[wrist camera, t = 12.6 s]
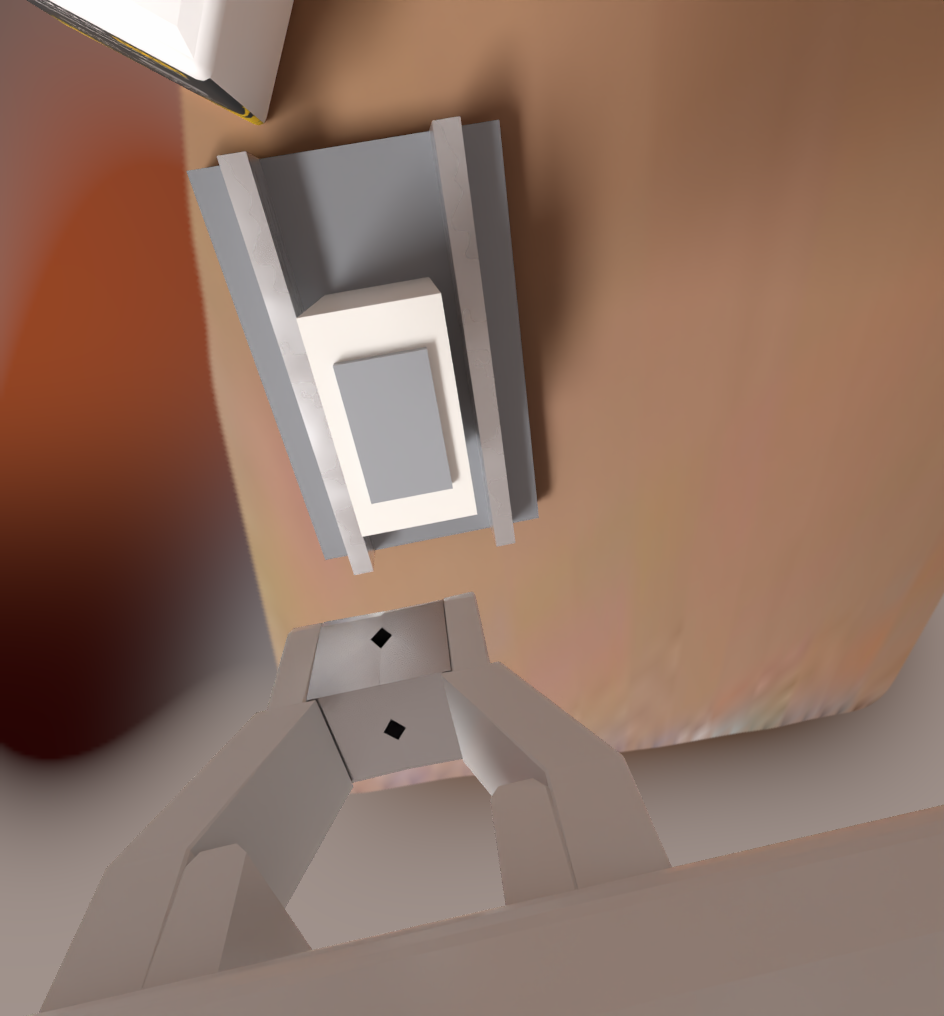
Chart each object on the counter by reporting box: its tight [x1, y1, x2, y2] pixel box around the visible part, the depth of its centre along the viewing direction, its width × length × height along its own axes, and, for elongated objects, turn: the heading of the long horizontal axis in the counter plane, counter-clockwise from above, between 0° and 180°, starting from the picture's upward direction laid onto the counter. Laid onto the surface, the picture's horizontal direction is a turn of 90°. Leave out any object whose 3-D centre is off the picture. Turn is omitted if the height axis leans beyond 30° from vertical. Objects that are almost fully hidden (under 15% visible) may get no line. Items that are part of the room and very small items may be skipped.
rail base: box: [187, 120, 539, 560], centre depth 24 cm, size 18×12×2 cm, turn 9°
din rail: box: [217, 116, 515, 575], centre depth 23 cm, size 18×8×2 cm, turn 9°
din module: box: [296, 277, 477, 537], centre depth 20 cm, size 8×4×7 cm, turn 8°
